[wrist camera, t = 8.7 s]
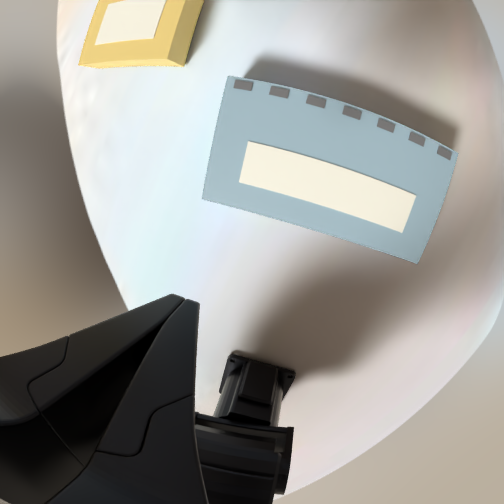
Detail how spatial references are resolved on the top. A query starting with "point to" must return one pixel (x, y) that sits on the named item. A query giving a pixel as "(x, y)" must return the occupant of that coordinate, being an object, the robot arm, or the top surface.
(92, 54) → the yellow box
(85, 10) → the top surface
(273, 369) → the robot arm
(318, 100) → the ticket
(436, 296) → the top surface
